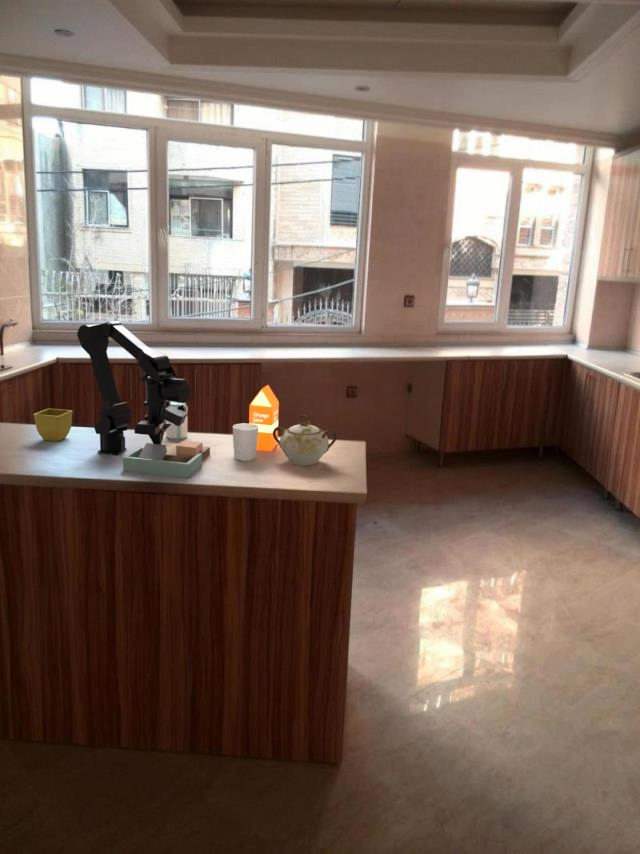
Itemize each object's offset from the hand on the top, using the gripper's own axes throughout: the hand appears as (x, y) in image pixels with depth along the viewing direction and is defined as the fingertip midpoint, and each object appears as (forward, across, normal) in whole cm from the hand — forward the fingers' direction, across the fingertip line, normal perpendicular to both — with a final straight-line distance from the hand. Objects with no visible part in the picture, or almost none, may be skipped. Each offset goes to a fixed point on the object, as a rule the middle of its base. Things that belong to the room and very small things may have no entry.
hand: (158, 449), depth 196 cm
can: (+5, +26, +5) cm, 27 cm away
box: (+4, -6, -4) cm, 8 cm away
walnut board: (+4, +5, -4) cm, 8 cm away
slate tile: (+2, -2, 0) cm, 3 cm away
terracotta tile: (+2, +4, -8) cm, 9 cm away
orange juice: (+5, +26, -25) cm, 37 cm away
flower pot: (+4, +11, +40) cm, 42 cm away
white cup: (+5, +12, -23) cm, 27 cm away
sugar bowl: (+5, +14, -41) cm, 44 cm away
